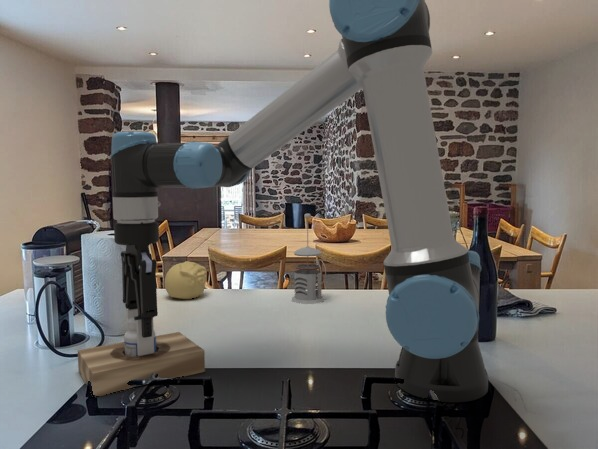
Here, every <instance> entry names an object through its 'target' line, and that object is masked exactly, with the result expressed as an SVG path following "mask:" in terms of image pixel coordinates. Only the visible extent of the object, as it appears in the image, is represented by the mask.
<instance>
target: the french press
mask: <svg viewBox="0 0 598 449" xmlns="http://www.w3.org/2000/svg"><path fill="white" fill-rule="evenodd" d="M304 218H306V220H307V221H306V224H307V225H306V228H307V230H306V232H307V234H306V235H307V236H306V239H307V240H306V242H307V243H306V244H307V245H306V247H301V248H299V249H297V250H295V251H294V252H293V254H294V256H297V257H307V262H306V264H304V263H303V264H302V263H301V264H297V265H296V266H295V269H297V270H295V271H293V273H294V274H293V275H294V276H293V277H294V290H293V291H294V296H292V297H291V299H292V300H291V302H293V301H294V303H295V302H297V303H296V304H300V303H301V305H302V304H303V305H314V304H320V303H323V302H324V301H325V300H326V299H325V297H323V296H322V284H324V282H325V281H326V277H327V269H326V265H325V263H324V262H323V260H322V259H321V258H318V260H317V259H314V260H313V263H314V264H313V263H312V264H310V263H309V257H319V256H320V255H322V253H323V252H322V251H321V250H319V249H318V248H315V247H312V246H309V218H312V214H311V213H305V214H304ZM320 261H321V263H322V264H323V267H324V279H323V281H322V267H321V264H320ZM319 269H320V270H319ZM316 280H317V281H316Z"/></svg>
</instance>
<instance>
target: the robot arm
mask: <svg viewBox="0 0 598 449" xmlns="http://www.w3.org/2000/svg"><path fill="white" fill-rule="evenodd" d="M328 3H329V4H328V7H329V8H328V9H329V13H330V17H331V19H332V20H331V21H332V23H333V24H334V25H333V26H334V28H335V29H336V31H337V32H338V33H339V34H340V35H341V39H340V40H339V43H338V48H337V50H336V51H334V53H332V54H331V55H329V56H328V57H326V58H325V60H323V61H322V62H321V63H319V64H318V65H317V66H316V67H314V68H313V69H311V70H310V71H309V72H308V73H307V74H305V75H304V76H303V77H301V78H300V79H299V80H298V81H296V82H295V83H294V84H293V85H292V86H290V87H289V88H288V89H286V90H285V91H284V92H282V93H281V94H280V95H279V96H278V97H276V98H275V99H274V100H272V101H271V102H270V103H268V104H267V105H266V106H264V107H263V108H262V109H261V110H260V111H259V112H257V113H256V114H254V115H253V116H252V117H251V118H249V119H248V120H247V121H246V122H244V123H243V124H241V125H240V126H239V127H238V128H236V129H235V130H234V131H233V132H232V133H231V134H229V135H228V136H227V137H225V138H224V139H223V140H221V141H220V142H219V143H217V144H216V145H215V144H212V143H211V142H206V141H205V142H202V141H194V140H193V141H188V142H172V143H169V142H167V143H158V142H157V136H156V134H155V133H152V132H149V131H148V132H147V131H119V132H115V133H114V134H113V135H112V137H111V150H110V161H111V162H110V163H111V172H112V174H111V177H112V192H113V193H112V215H113V219H114V220H116V222H115V223H114V225H113V231H114V232H113V234H114V235H113V236H114V239H113V240H114V243H115V244H116V245H119V246H125V250H123V251H121V252H120V256H121V271H122V272H121V276H122V281H121V282H122V303H123V304H124V306H125V309H126V321H127V320H128V319H130V318H133V317H134V320H136V324H137V355H138V356H141V355H146V354H151V353H154V331H155V330H154V318H155V317H158V316H159V315H158V313H159V312H158V296H157V295H158V293H157V292H158V290H157V260H156V259H155V258H154V259H153V256H152V253H150V245H151V244H156V243H158V242H159V241H160V229H159V228H160V224H159V223H158V221H156V220H157V219H158V218H159V207H161V205H162V204H161V202H160V201H159V200H158V199H159V197H158V196H159V193H158V192H159V188H177V189H184V188H185V189H186V188H187V189H188V188H189V189H192V190H195V189H205V188H206V189H207V188H214V187H216V188H217V187H218V188H220V187H221V188H232V187H235V186H238V185H241V184H243V183H244V182H246V180H247V179H248V177H249V175H250V173H251V170H253V169H254V168H255V167H256V166H258V165H259V164H261V163H262V162H264V161H265V160H266V159H267V158H269V157H270V156H272V155H273V154H274V153H275V152H277V151H278V150H280V149H281V148H283V147H284V146H285V145H287V144H288V143H289V142H290V141H292V140H294V139H295V138H296V137H298V136H299V135H300V134H302V133H303V132H304V131H306V130H307V129H308V128H310V127H311V126H313V125H314V124H315V123H317V122H318V121H319V120H321V119H322V118H323V117H325V116H326V115H328V114H329V113H330V112H332V111H333V110H334V109H336V108H337V107H339V106H340V105H341V104H343V103H344V102H345V101H347V100H348V99H349V98H351V97H352V96H353V95H355V94H356V93H358V92H359V91H361V90H362V92H363V97H364V104H365V108H366V113H367V120H368V124H369V131H370V136H371V140H372V141H371V142H372V146H373V151H374V158H375V163H376V164H375V165H376V169H377V174H378V180H379V186H380V190H381V196H382V201H383V207H384V212H385V218H386V224H387V230H388V235H389V242H390V246H391V249H390V252H388V253H389V254H388V255H387V256H386V257H385V259H384V260H383V269H384V273H385V279H386V285H387V291H388V297H387V299H386V305H385V321H386V324H387V328H388V330H389V332H390V334H391V336H392V337H393V339H394V340H395V341H396V342H397V344H398V345H399V346H401V350H400V353H399V357H398V360H397V361H396V364H395V367H394V368H395V369H394V371H395V372H394V378H395V377H396V378H401V379H404V383H403V384H396V385H397V386H398V387H399V389H401V390H402V391H404V392H406V393H408V394H409V395H412V396H415V397H418V398H420V397H421V399H424V398H427V397H428V392H429V391H430V390H432V391H434V393H435V394H436V395H437V397H438V398H439V400H440V401H441V403H442V402H443V403H467V402H471V401H475V400H478V399H481V398H482V397H484V396H485V395H486V394H487V393H488V392H489V373H488V372H487V370H486V366H485V362H484V358H483V355H482V351H481V348H480V344H479V324H480V313H479V312H480V282H481V281H480V280H481V278H480V277H481V272H482V265H481V257H480V254H479V253H478V252H477V251H475V250H468V248H467V247H465V246H464V245H463V244H461V243H460V242H459V241H457V240H456V238H455V237H454V233H453V232H454V231H453V226H452V220H451V217H450V216H451V215H450V210H449V204H448V199H447V194H446V188H445V181H444V177H443V171H442V166H441V160H440V155H439V148H438V143H437V137H436V130H435V126H434V121H433V114H432V109H431V105H430V104H431V102H430V98H429V92H428V87H427V80H426V76H425V70H424V69H425V65H426V64H427V62H428V60H429V59H430V58H431V56H432V54H433V48H432V43H431V37H430V28H431V16H430V9H429V8H428V5H427V3H426V0H329V2H328ZM126 330H127V331H129V329H128V327H127V326H126ZM127 331H126V332H127ZM440 401H439V402H440Z"/></svg>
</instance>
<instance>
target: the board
mask: <svg viewBox="0 0 598 449" xmlns="http://www.w3.org/2000/svg"><path fill="white" fill-rule="evenodd" d="M155 336H156V352H155V353H152V354H150V355H145V356H127V355H125V345H124V341H122V342H115V343H110V344H105V345H98V346H94V347H87V348H83V349H78V350H77V363H78V364H77V367H78V373H79V375H80V377H81V378H82V380H83V381H84V384H85V385H86V384H87V382H88V381H90V382H91V386H92V391H93V395H96V396H99V397H102V396H107V395H111V394H110V393H112V394H114V393H113V392H116V391H120V390H124V391H126V390H125V389H129V388H132V387H133V386H130V385H128V384H127V383H128V382H129V381H131V380H134V379H146V378H147V377H149V376H150V375H151V374H152V373H157V374H158V377H161V378H171V377H180V378H183V377H182V376H184V377H187V376H192V375H196V374H201V373H204V372H206V366H205V364H206V362H205V361H206V360H205V358H206V357H205V355H206V354H205V349H204V348H203V347H201V346H199V344H196V343H195V342H194V341H192V340H191V339H189V338H188V337H187V336H185V335H184V334H183V333H181V332H180V331H177V332H171V333H166V334H158V335H155ZM129 390H130V389H129ZM120 392H121V391H120ZM116 393H117V392H116ZM106 394H107V395H106Z"/></svg>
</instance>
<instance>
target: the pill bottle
mask: <svg viewBox="0 0 598 449" xmlns="http://www.w3.org/2000/svg"><path fill="white" fill-rule="evenodd" d="M127 327H128V329H129V331H126V332H125V333H124V336H123V342H124V345H125V355H127V356H138V355H137V324H136V320H134V317H133V318H130V319H128V320H127V319H126V328H127ZM156 336H157V335H156V331H155V330H154V353H155V352H156ZM151 354H152V353H151ZM146 355H150V354H146ZM141 356H145V355H141Z"/></svg>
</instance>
